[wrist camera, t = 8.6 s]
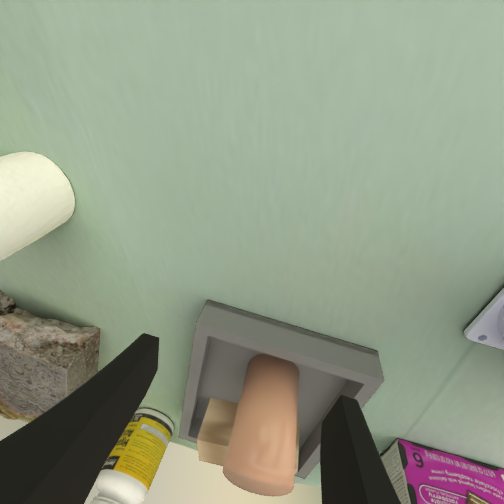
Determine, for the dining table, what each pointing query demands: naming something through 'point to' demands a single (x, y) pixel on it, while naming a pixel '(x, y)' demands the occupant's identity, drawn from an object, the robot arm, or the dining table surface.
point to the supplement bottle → (134, 459)
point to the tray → (282, 346)
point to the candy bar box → (440, 476)
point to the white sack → (31, 200)
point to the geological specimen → (41, 361)
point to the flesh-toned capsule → (265, 428)
